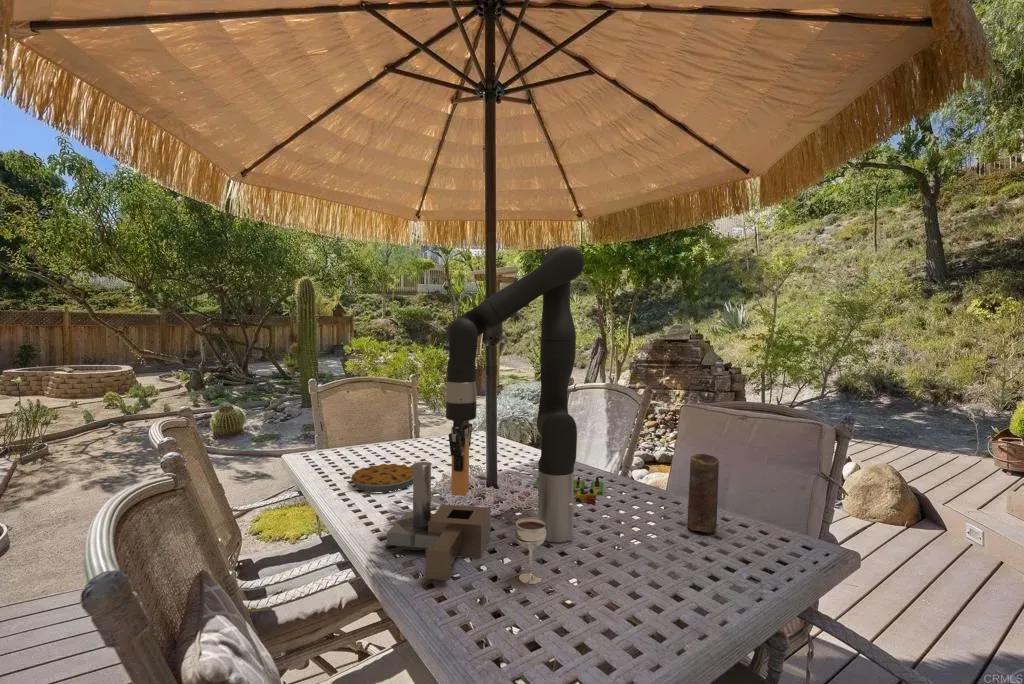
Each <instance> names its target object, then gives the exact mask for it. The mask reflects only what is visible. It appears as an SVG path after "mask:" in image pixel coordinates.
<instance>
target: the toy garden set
mask: <svg viewBox="0 0 1024 684" xmlns="http://www.w3.org/2000/svg"><path fill="white" fill-rule="evenodd" d="M576 478H577V479H575V478H574V494H573V497H574V499H579V500H580V502H581V503H583V504H586V503H587V505H589V504H592V506H595V505H596V502H597V500H596V498H597V496H604V483H603V481H601V480H600V479H599V477H598V476H596V477H595V480H593V481H591V484H590V489H589V490H585V486H586V481H584V480H583V479H581V477H580V476H579V475H578V476H576ZM536 479H537V480H536V482H535V483H534V485H533V487H532V489H533V488H538V478H536Z"/></svg>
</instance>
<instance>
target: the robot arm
mask: <svg viewBox="0 0 1024 684" xmlns="http://www.w3.org/2000/svg"><path fill="white" fill-rule="evenodd" d="M584 262H585V260H584V256H583V254H582V252H581V251H580V250H579V249H578V248H576V247H575V246H572V245H560V246H557V247H555V248H553V249H551V250H549V251H548V252H547V253H545V255H544V256H543V258H542V260H541V264H540V265H538V267H536V268H535V269H534V270H532V271H530V272H529V273H528V274H526V275H525V276H523V277H521V278H520V279H518V280H516V281H514V282H512V283H511V284H509V285H507V286H504V287H503V288H501V289H500V290H498V291H496V292H495V293H494V294H492V295H490V296H489V297H488V298H485V299H484V300H483V301H481V302H480V303H479V304H478V305H477V306H475V307H474V308H472V309H470V310H468V311H467V312H465V313H463V314H461V315H460V316H458V317H456V318H454V319H453V320H452V321H450V322H449V323H448V325H447V327H446V330H445V335H446V339H447V341H448V342H449V343H448V345H449V346H448V347H449V348H448V349H449V353H448V354H449V358H448V360H447V365H446V366H447V367H446V387H445V418H446V419H447V420H448V421H452V422H453V424H452V427H451V428H450V429H451V430H450V431H451V432H450V433H448V441H449V442H448V443H449V449H450V456H452V455H453V456H454V471H458V472H462V471H463V455H464V447H465V446H466V440H467V436H469V448H470V447H471V445H472V444H471V442H472V441H471V440H472V432H473V430H472V429H473V423H470V421H473V420H475V419H476V418H477V395H478V394H477V384H476V374H477V373H476V372H477V371H476V368H477V367H476V360H477V359H476V358H477V350H478V344H479V343H478V342H479V341H478V340H479V336H481V335H482V334H484V333H485V332H487V331H488V330H490V329H493V328H495V327H497V326H499V325H501V324H502V323H504V322H506V321H507V320H508V319H509V318H511V317H512V316H514V315H515V314H516V313H519V312H520V311H521V310H522V309H524V307H526V306H527V305H529V304H530V303H532V302H533V301H534V300H536V299H538V298H539V297H541V296H542V310H541V311H542V313H541V329H540V330H541V333H540V346H539V347H540V348H539V351H540V352H539V353H540V354H539V355H540V357H539V358H540V359H539V361H540V363H539V367H540V369H539V371H540V373H539V374H540V396H539V403H538V404H539V405H538V410H537V411H538V412H537V419H536V429H537V432H538V434H539V436H540V437H541V439H540V440H541V441H540V442H541V444H540V445H541V446H540V458H539V459H538V465H537V466H538V470H537V472H538V474H537V475H538V477H537V479H538V490H537V492H538V493H537V494H538V496H537V518H539V519H542V520H544V521H545V522H546V527H545V529H546V539H545V541H544V542H549V543H556V544H557V543H558V544H559V543H565V542H573V541H574V517H575V516H574V514H575V513H574V508H575V507H574V505H575V501H574V500H575V498H574V497H573V496H574V495H573V494H575V493H574V480H575V478H574V475H575V472H574V471H575V463H576V460H577V448H578V447H577V446H578V425H577V422H576V421H575V418H574V417H573V416H572V415H570V414H569V407H568V406H569V405H568V391H569V390H568V389H569V384H570V381H571V377H572V373H573V370H574V366H575V362H576V351H577V350H576V349H577V348H576V346H577V344H576V343H577V333H576V328H575V323H574V318H573V314H572V311H571V307H570V291H571V290H570V289H571V281H574V280H575V279H577V278H578V277H579V276H580V274H582V272H583V270H584V264H585V263H584ZM461 441H463V443H461ZM456 448H458V450H456Z"/></svg>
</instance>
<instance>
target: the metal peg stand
mask: <svg viewBox="0 0 1024 684" xmlns="http://www.w3.org/2000/svg"><path fill="white" fill-rule="evenodd" d="M412 467H413V483H412V511H406V512H405V513H404V514H403V515H402V516H401V517H400V519H398V520H395V522H394V525H393V526H391V528H390V529H389V530H388V531H387V532H386V545H388V546H398V547H400V549H401V548H402V549H401V550H408V549H413V550H412V551H420V550H426V549H427V548H432V547H433V545H434V544H435V542H436V541H437V539H438V538H439V537H440V535H438V534H428V521H429V520H430V519H431V517H432V516H433V515H434V514H435V513H432V511H431V510H432V487H431V485H432V481H431V480H432V463H431V462H427V461H418V462H415V463H413V464H412ZM403 548H404V549H403ZM414 549H415V550H414Z"/></svg>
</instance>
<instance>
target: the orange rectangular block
mask: <svg viewBox="0 0 1024 684" xmlns="http://www.w3.org/2000/svg"><path fill="white" fill-rule="evenodd" d="M461 443H463V441H461ZM456 450H458V448H456ZM450 486H451V487H450V489H451V492H450V493H451V494H450V495H451V496H460V497H461V496H462V497H465V496H466V497H467V494H468V493H469V491H470V447H469V436H467V440H466V446H465V447H464V455H463V471H462V472H458V471H454V456H453V455H451V485H450Z"/></svg>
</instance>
